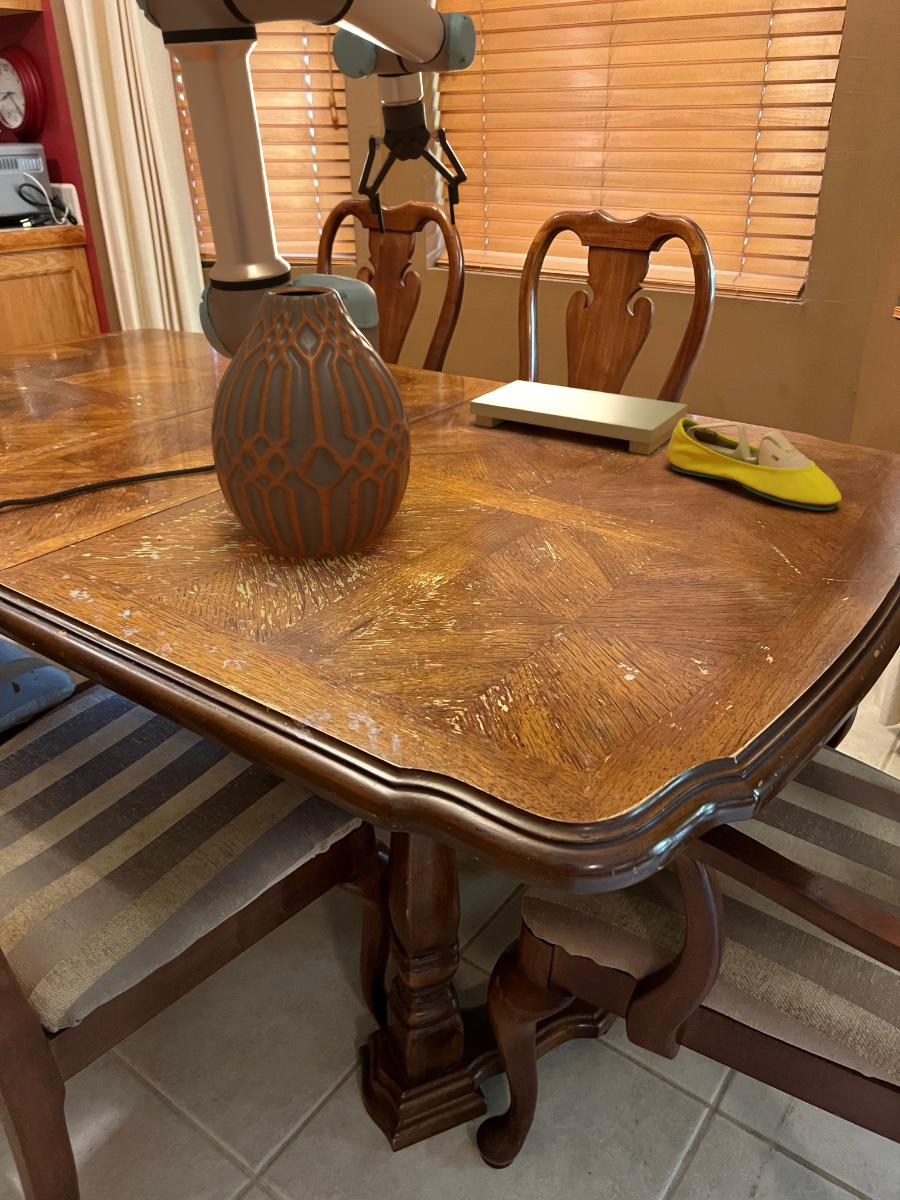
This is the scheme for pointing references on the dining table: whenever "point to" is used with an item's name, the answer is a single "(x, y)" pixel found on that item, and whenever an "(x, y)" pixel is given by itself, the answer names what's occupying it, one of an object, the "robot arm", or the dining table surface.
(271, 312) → the vase
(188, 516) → the dining table surface
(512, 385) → the low footed display riser
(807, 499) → the ballet flat
